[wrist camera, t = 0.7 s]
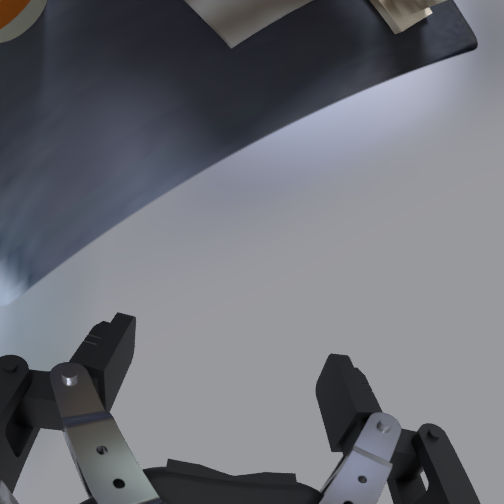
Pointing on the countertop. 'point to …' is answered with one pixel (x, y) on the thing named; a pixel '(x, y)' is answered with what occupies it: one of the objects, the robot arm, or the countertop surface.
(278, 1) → the trapdoor frame
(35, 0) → the grey rounded piece
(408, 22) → the tall stand
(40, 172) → the countertop surface
